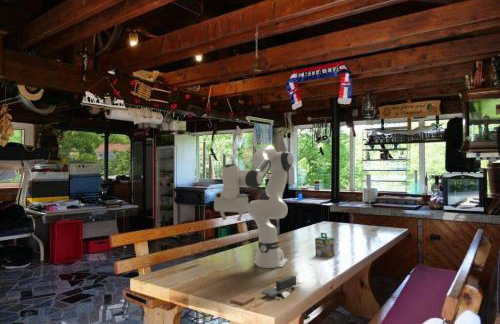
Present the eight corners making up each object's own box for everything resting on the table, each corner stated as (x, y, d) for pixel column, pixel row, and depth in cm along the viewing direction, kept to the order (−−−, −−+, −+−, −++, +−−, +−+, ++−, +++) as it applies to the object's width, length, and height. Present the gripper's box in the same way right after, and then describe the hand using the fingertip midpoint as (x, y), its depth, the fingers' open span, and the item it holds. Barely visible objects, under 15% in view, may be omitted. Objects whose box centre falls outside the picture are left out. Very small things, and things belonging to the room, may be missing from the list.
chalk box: (335, 255, 232) (334, 232, 232) (326, 257, 226) (325, 234, 226) (323, 252, 239) (323, 230, 239) (315, 255, 233) (314, 232, 233)
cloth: (282, 282, 183) (282, 277, 183) (307, 286, 175) (307, 282, 175) (256, 298, 161) (256, 293, 161) (283, 304, 153) (283, 299, 153)
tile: (241, 293, 162) (230, 299, 155) (254, 297, 157) (243, 303, 151) (241, 297, 162) (230, 303, 155) (254, 300, 157) (243, 306, 151)
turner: (289, 282, 175) (289, 274, 175) (299, 285, 170) (298, 277, 170) (261, 293, 161) (261, 284, 161) (271, 296, 156) (271, 287, 156)
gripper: (251, 194, 184) (251, 220, 184) (218, 193, 195) (219, 218, 194) (244, 195, 179) (245, 222, 179) (212, 194, 189) (212, 220, 189)
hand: (231, 220), depth 187 cm, fingers open, 8 cm apart
